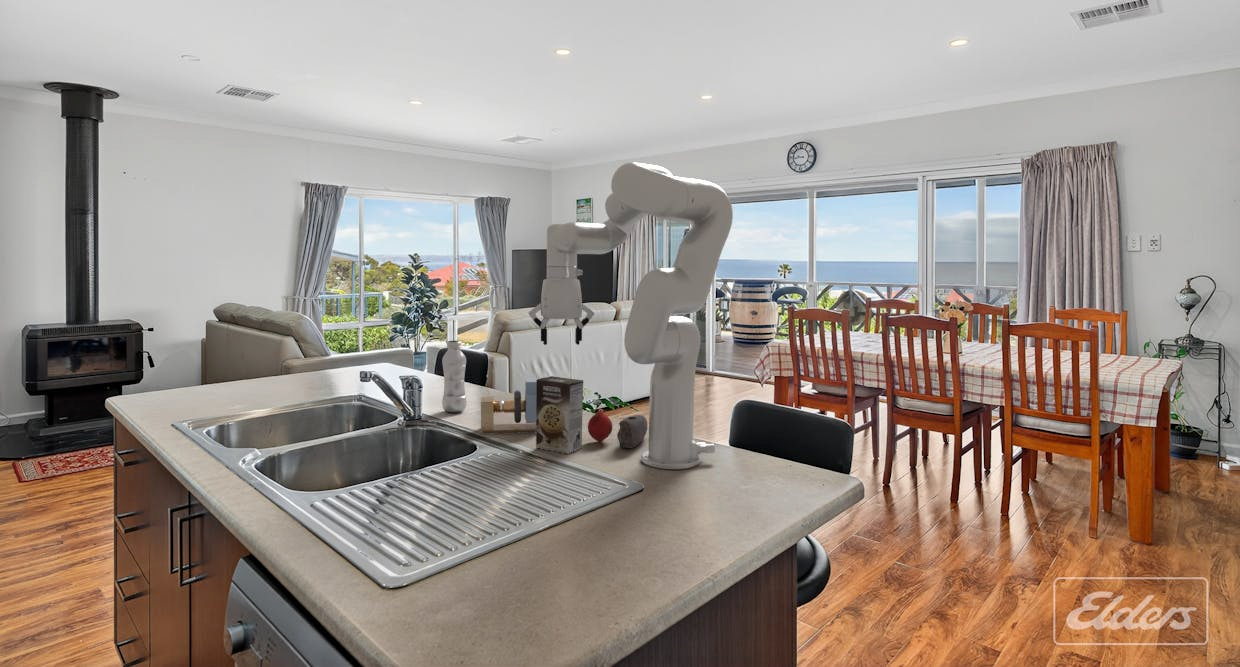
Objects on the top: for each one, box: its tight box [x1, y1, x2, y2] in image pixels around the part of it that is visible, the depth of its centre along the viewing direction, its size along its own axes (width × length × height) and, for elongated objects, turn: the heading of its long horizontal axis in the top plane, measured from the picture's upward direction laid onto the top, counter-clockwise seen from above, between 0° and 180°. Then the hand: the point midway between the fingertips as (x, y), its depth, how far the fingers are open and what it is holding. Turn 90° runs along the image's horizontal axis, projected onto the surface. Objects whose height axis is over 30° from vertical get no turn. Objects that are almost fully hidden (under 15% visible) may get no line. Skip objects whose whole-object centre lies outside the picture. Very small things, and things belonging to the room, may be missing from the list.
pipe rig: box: [480, 396, 536, 434], centre depth 171 cm, size 17×6×8 cm, turn 100°
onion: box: [587, 408, 613, 443], centre depth 161 cm, size 6×6×8 cm
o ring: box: [513, 390, 522, 424], centre depth 171 cm, size 2×8×8 cm, turn 10°
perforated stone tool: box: [616, 414, 648, 449], centre depth 160 cm, size 15×5×7 cm, turn 159°
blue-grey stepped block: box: [524, 379, 537, 424], centre depth 171 cm, size 4×7×10 cm, turn 10°
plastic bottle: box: [441, 340, 467, 414], centre depth 189 cm, size 6×7×20 cm
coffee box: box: [535, 375, 584, 455], centre depth 154 cm, size 9×6×16 cm
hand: (561, 343), depth 171 cm, fingers open, 7 cm apart
